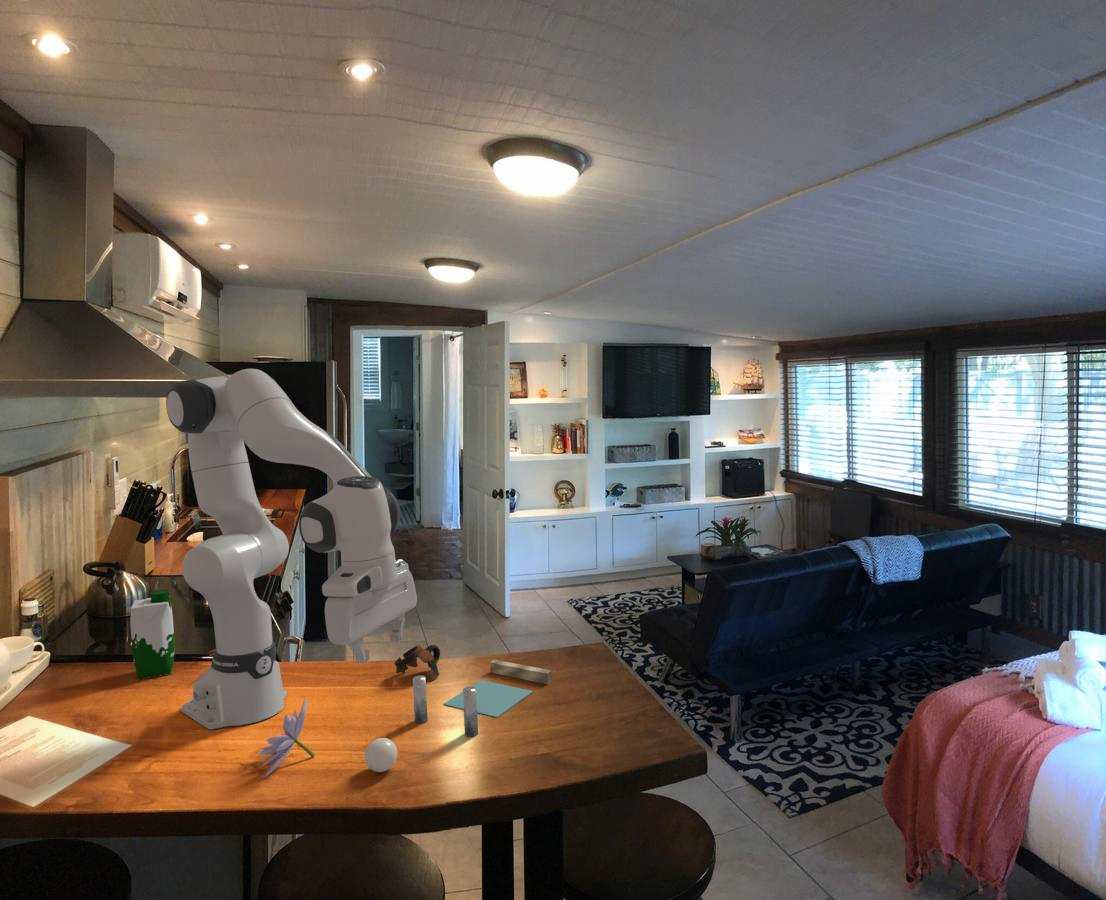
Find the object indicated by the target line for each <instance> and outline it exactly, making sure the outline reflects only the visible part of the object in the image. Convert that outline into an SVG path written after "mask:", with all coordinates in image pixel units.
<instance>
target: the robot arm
mask: <svg viewBox="0 0 1106 900" xmlns="http://www.w3.org/2000/svg"><path fill="white" fill-rule="evenodd" d="M165 405H166V406H165V407H166V408H165V409H166V413H167V416H168V419H169V421H170V423H171V425H173V427H174V428H175V429H177V431H179V432H180V433H186V434H187V435H188V436H187V438H188V439H187V441H188V442H187V443H188V444H187V445H188V458H189V466H190V471H191V476H192V481H193V485H194V486H193V487H194V491H195V495H196V500H197V504H198V505H197V506H198V507H199V509H200V510H201V511H202V512H203V513H204V514H206V515H207V516H210V517H211V518H213V520H214V521H215V522H216V523H217V525H218V527H219V529H220V531H221V535H218V536H214V537H210V538H208V539H206V540H203V541H202V542H201V543H199V544H197V545H196V546H194V547H193V548H191V549H189V550H188V551H187V553H185V556H184V558H183V559H182V567H181V568H182V574H183V578H184V580H185V582H186V584H188V586H189V587H190V588H191V589H192V590H194V591H195V592H198V593H199V594H200V595H202V596H203V598H204V599H205V602H206V603H207V605H208V607H209V608H210V612H211V615H212V621H213V627H214V628H213V629H214V630H213V631H214V639H215V649H212V650H210V651H208V653H210V654H209V656H208V657H212V659H211V660H212V661H211V666H210V667H209V668H208V669H206V671H205V672H204V673H203V674H202V675H201V676H199V677H198V678H197V679H196V680H195V681H194V683H193V685H192V686H193V687H192V698H191V699H190V700H188V701H187V702H185V703H184V704H182V705H181V707H180V708H181V709H180V710H181V712H182V713H183V714H185V715H186V716H188V717H189V718H191V719H193V720H194V721H195V722H197V723H199V724H200V725H201V726H203V727H204V728H206V729H208V730H216V729H221V728H225V727H232V726H233V727H235V726H244V725H250V724H253V723H254V724H255V723H257V722H261V721H264V720H265V719H268V718H271V717H273V716H274V715H277V714H278V713H280V712H281V711H282V710H283V708H285V699H286V697H287V696H286V694H287V695H288V693H287V690H286V689H283V688H284V687H283V684H282V683H283V682H282V676H281V670H280V664H279V662H278V661H277V659H276V658H277V653H276V652H277V648H276V647H277V646H276V644H275V643H276V642H275V641H274V640H273V626H272V625H273V624H272V612H271V608H270V606H269V604H268V603H267V602H265V601H264V600H261V599H260V598H259V597H258V595H257V593H256V591H255V586H254V579H257V578H259V577H262V576H265V575H267V574H269V573H271V572H273V571H274V570H276V569H277V568H278V567H279V566H280V565H282V564H283V563H284V562H285V561H286V559H287V558H288V555H289V551H290V544H289V541H288V537H287V535H286V534H285V532H284V531H282V529H280V528H278V527H277V526H276V525H274V524H273V523H272V522H271V520H270V519H269V518H268V516H267V515H266V513H265V511H264V510H263V507H262V506H261V504H260V502H259V498H258V496H257V494H256V489H255V485H254V480H253V476H252V472H251V468H250V462H249V458H248V454H247V449H246V446H247V447H248V448H249V450H250V451H251V452H252V453H253V454H255V456H257V457H259V458H260V459H263V460H265V461H268V462H272V463H279V464H290V465H291V464H292V465H293V464H294V465H299V466H306V467H311V468H315V469H316V470H317V469H318V470H319V471H321V472H323V473H325V475H327V476H329V478H330V479H331V480H332V481H333V483H334V484H333V488H332V489H331V490H330V491H329V492H327V493H326V494H324V495H322V496H320V497H319V498H317V499H314V500H312V501H310V502H308V503H307V504H306V505H305V506H304V507H303V509H302V511H301V513H300V515H299V519H298V528H299V529H298V530H299V534H300V537H301V539H302V542H303V543H304V544H305V545H306V546H307V547H308V548H309V549H311V550H312V551H314V552H316V553H320V554H322V553H323V554H325V553H332V552H335V551H340V553H341V554H340V560H341V561H340V562H341V565H340V566H339V567H338V568H337V570H335V572H334V573H333V574H332V575H331V576H330V577H329V578H328V579H327V580H326V581H324V582H323V584H322V585H321V591H322V595H323V596H325V597H327V599H326V601H325V604H324V617H325V618H324V620H325V627H326V634H327V638H328V640H329V641H330V643H332V644H333V645H339V646H340V645H341V646H348V647H349V649H350V650H351V651H352V653H354V658H355V663H356V664H364V663H366V662H367V661H369V660H370V657H371V656H370V651H369V649H365V647H364V646H363V645H362V644H363V643H364V637H365V636H367V635H369V634H370V633H372V632H374V631H375V630H377V629H379V628H381V627H383V626H385V625H386V624H388V623H389V622H391V621H392V626H391V630H390V631H389V633H388V635H389V641H390V642H391V643H399V642H400V641H402V640H403V639H404V635H403V634H404V633H403V629H404V625H405V621H406V615H405V614H406V613H407V612H409V611H410V610H413V609H414V608H415V607H416V606H417V602H418V595H417V590H416V586H415V585H416V584H415V581H414V577H413V574H412V572H411V571H410V568H409V564H408V563H407V562H406V561H405V560H403V559H402V558H399V559H396V553H395V552H396V551H395V547H394V545H393V543H392V539H391V537H392V535H394V533H395V532H396V530H397V528H398V526H399V523H400V520H401V506H400V504H399V501H398V500H397V498H396V496H395V495H394V494H393V493H392V491H390V490H389V489H388V488H387V487H385V486H384V485H383V484H382V482H381V481H380V480H379V479H377V478H375V477H373V476H372V475H371V474H370V473H369V472H368V471H367V469H365V468H364V467H363V465H362V464H361V463H360V462H359V461H358V460H357V458H355V457H354V455H352V453H350V451H348V449H347V448H346V447H345V446H344V445H343V444H342V443H341V441H339V440H338V439H337V438H336V437H335V436H334V435H333V434H332V433H330V432H329V431H328V430H325V429H323V428H322V427H320V426H318V425H316V424H315V423H314V422H312V421H311V420H309V418H307V417H306V416H304V414H303V413H302V412H301V411H299V409H297V407H296V406H295V405H294V403H293V402H292V400H291V399H290V398H289V396H288V394H287V393H285V391H284V390H283V388H281V386H279V384H278V382H277V381H276V380H275V379H274V378H273V377H271V376H270V375H269V374H268V373H266V372H264V371H262V370H260V369H257V368H245V369H241V370H238V371H236V372H234V373H233V374H222V375H220V376H212V377H204V378H200V379H191V378H190V379H185V380H182V381H178V382H175V383H174V384H173V385H172V386H171V387H170V389H169V390H168V391H167V394H166V399H165ZM245 445H246V446H245ZM285 696H286V697H285ZM284 698H285V699H284Z"/></svg>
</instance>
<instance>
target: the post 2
mask: <svg viewBox="0 0 1106 900" xmlns="http://www.w3.org/2000/svg"><path fill="white" fill-rule="evenodd" d="M462 692H463V704H464V710H463V722H464V723H463V727H464V736H465V737H466V738H474V737H477V736H479V735H478V734H479V723H478V721H479V720H478V719H479V718H478V713H477V692H476V688H475V687H471V686H466V687H464V688H462Z"/></svg>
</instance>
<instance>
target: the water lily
mask: <svg viewBox="0 0 1106 900" xmlns="http://www.w3.org/2000/svg"><path fill="white" fill-rule="evenodd" d="M307 700H308V699H307V695H306V696H305V697H304V700H303V702H302V706H301V709H300V712H299V714H297V709H296V708H294V712H293V716H290V715H289V714H287V715H285V716H284V719H283V725H282V727H283V728H282V729H283V732H284V733H283V734H282V733H281V734H279V735H276V736H273V737H269V738H267V739H266V740H265V743H267V744H268V745H269V746H264V747H261V748H260V750H262V751H260V752H259V753H258V754H257V756H259V757H260V756H267V755H271V754H273V755H271V757H269V758H268V759H267V760H266V761H265V762H264V763H263V765H262V767H263V766H266V765H268V764H270V763H272V762H273V761H274V762H273V764H272V765H271V766H270V767H269V769H268V770H267V772H266V774H265V776H264V777H268V776H269V775H270V774H271V773H272V772H274V771H275V769H277V768H278V766H279V765H280V764H282V763H283V761H284V760H285V758H287V756H288V755H289V753H291V750H292V748H293V747H294V745H296V744H297V745H298V746H299V747H301V749H303V750H304V751H305V753H307V754H308V755H309V756H310V757H311V758H312V759H314V757H315V756H316V754H315V753H314V752H313V751H312V750H311V749H310V748H308V747H307V746H306V745H305V744H303V743H302V742H301V741H299V740H298V738H299V737H300V735H301V732H302V730H303V728H304V724H305V721H306V720H305V719H306V710H307V702H308V701H307Z"/></svg>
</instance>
